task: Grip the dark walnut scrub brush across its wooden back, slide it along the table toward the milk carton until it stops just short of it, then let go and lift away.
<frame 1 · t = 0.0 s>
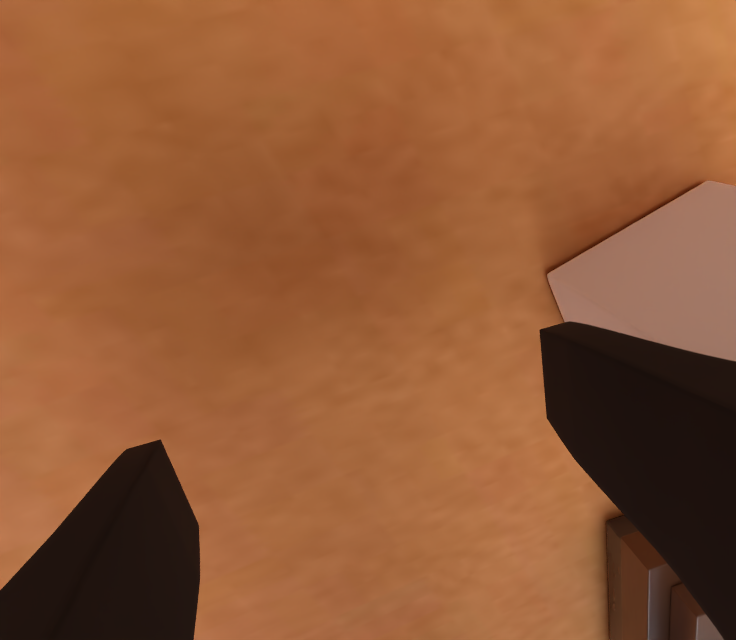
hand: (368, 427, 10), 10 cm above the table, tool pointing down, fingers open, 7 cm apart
milk carton: (642, 296, 23), on the table
brush: (643, 577, 30), on the table
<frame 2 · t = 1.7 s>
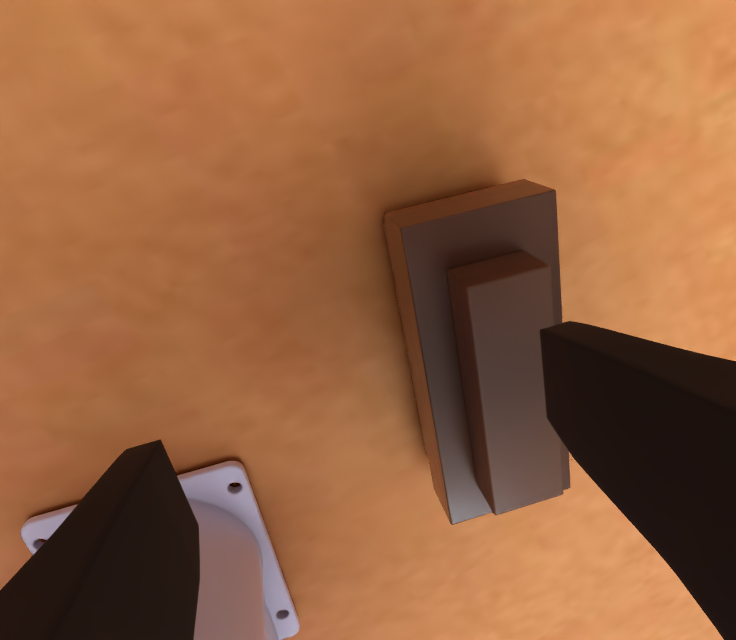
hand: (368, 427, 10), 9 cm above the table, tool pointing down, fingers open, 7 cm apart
brush: (459, 332, 21), on the table
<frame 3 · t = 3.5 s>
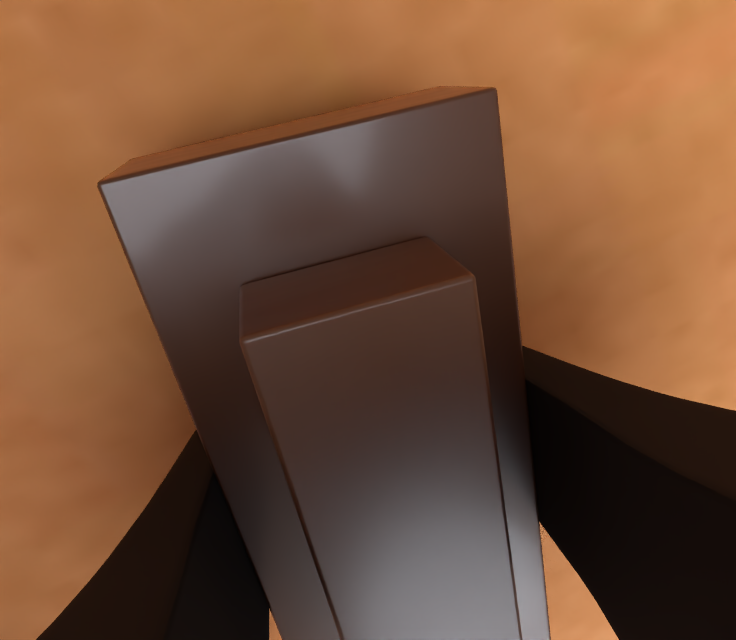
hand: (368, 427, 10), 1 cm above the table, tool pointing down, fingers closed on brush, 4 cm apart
brush: (352, 390, 12), on the table, touching gripper
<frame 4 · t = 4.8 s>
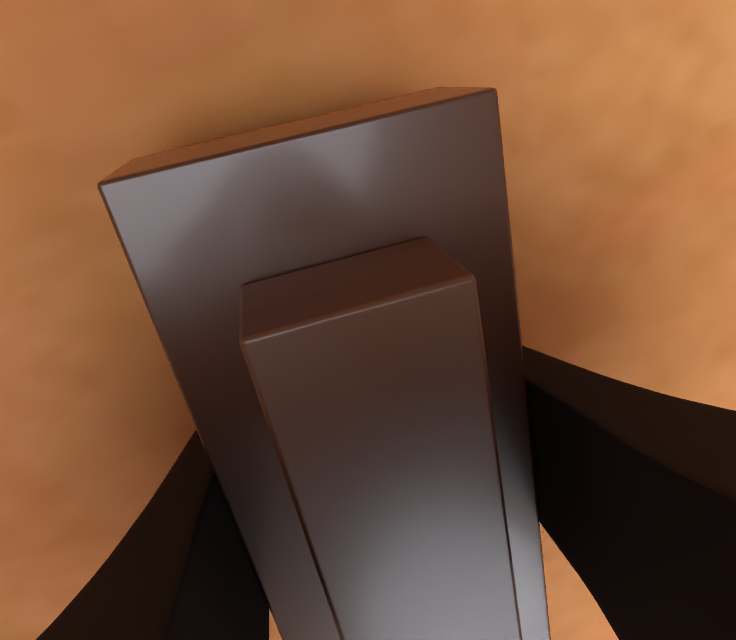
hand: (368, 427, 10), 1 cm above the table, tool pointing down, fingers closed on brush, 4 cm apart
brush: (352, 390, 12), on the table, touching gripper
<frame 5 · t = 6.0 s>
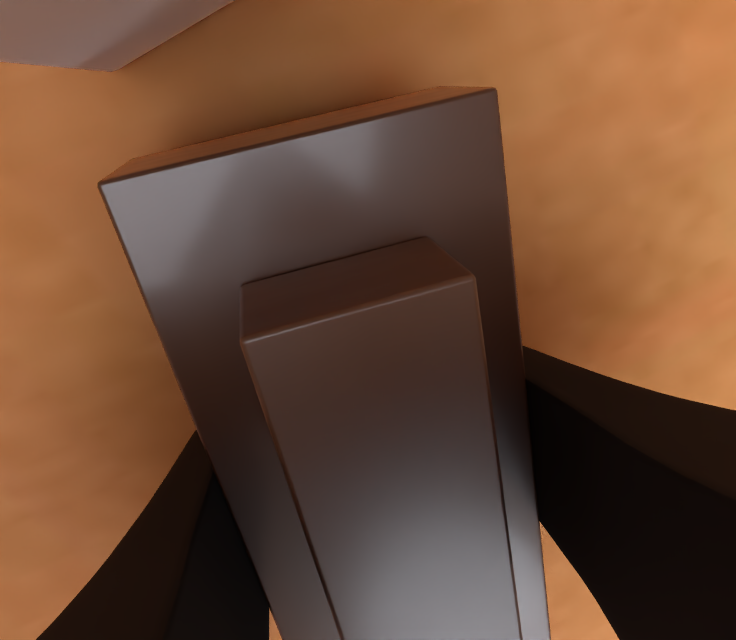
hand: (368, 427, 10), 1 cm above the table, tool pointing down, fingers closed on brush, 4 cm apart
brush: (352, 390, 12), on the table, touching gripper
when the fingers open (1 cm above the table, at t = 6.4 s): brush stays where it is, on the table.
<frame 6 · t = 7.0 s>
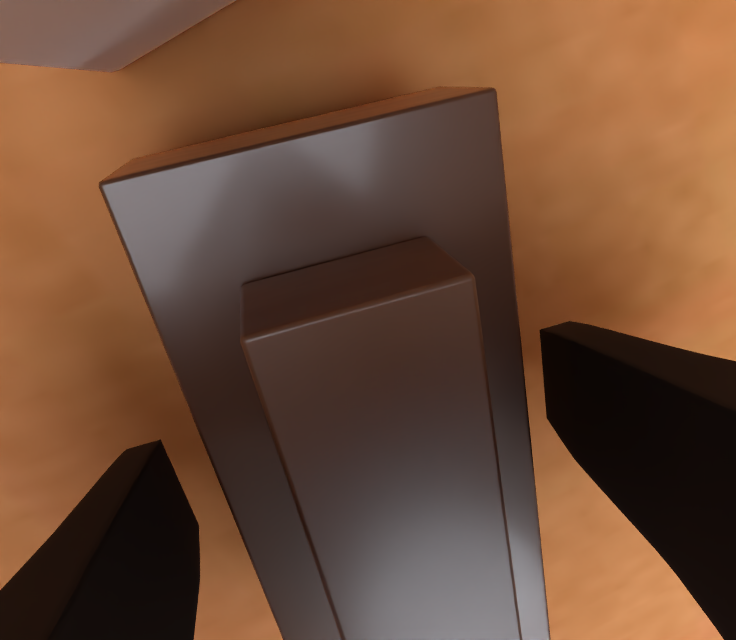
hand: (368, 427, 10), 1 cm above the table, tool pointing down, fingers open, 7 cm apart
brush: (352, 390, 12), on the table
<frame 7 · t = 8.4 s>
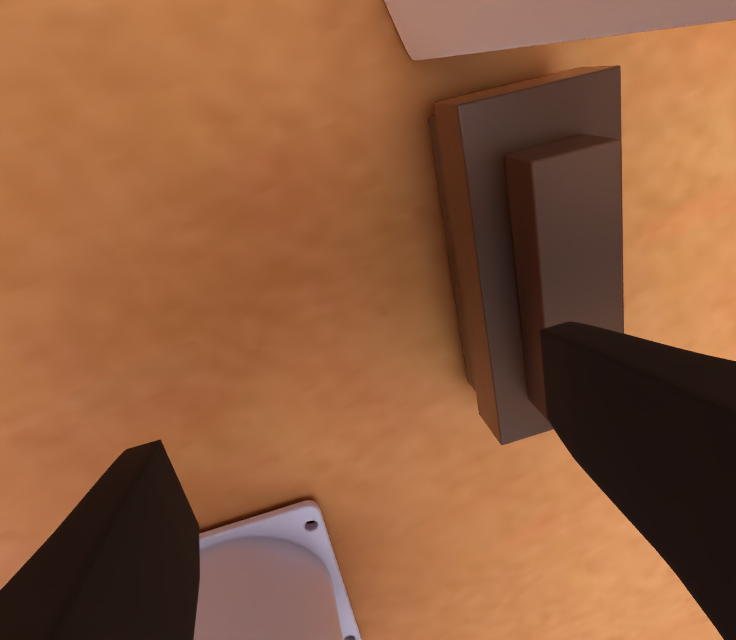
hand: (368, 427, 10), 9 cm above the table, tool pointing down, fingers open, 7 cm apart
brush: (504, 248, 20), on the table
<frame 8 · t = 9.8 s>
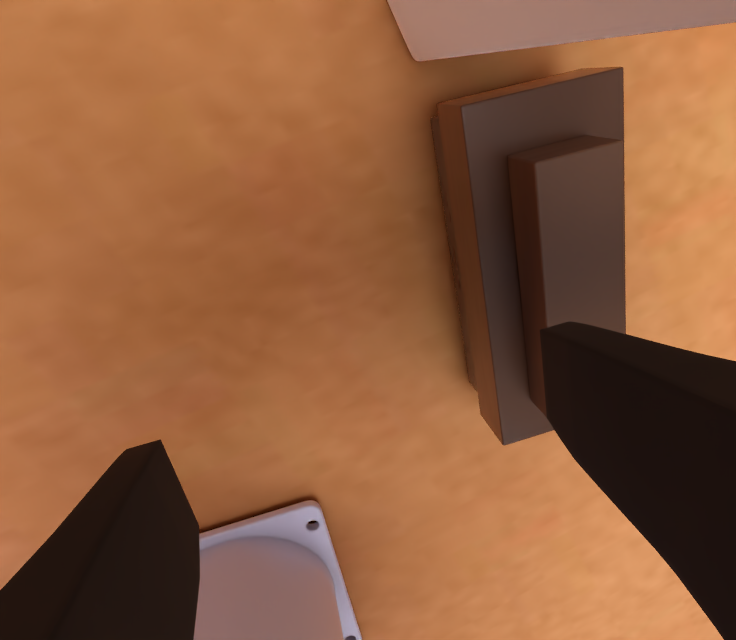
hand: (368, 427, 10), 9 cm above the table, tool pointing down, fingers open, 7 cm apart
brush: (506, 248, 20), on the table
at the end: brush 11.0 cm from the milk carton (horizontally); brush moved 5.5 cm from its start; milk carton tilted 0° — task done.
